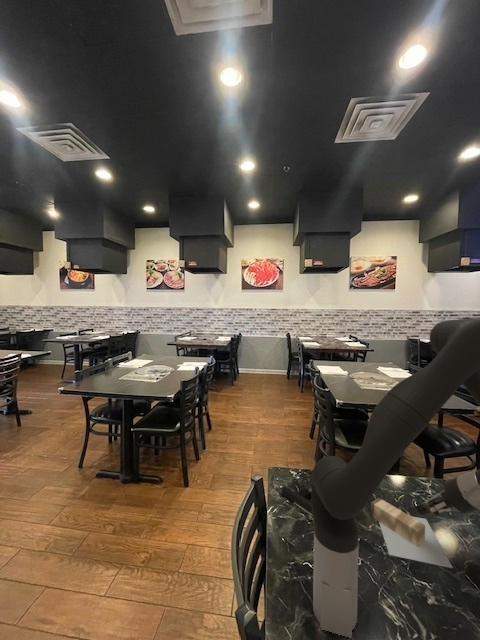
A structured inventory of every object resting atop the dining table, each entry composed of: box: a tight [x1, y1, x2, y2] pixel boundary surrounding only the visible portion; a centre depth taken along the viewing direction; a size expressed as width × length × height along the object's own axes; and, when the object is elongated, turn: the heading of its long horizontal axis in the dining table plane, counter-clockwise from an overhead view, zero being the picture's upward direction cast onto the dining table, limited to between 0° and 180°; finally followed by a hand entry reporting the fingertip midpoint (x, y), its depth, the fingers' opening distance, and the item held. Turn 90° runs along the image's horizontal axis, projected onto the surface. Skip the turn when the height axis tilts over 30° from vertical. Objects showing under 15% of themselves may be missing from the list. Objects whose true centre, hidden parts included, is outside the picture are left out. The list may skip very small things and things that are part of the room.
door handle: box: [281, 486, 313, 517], centre depth 98 cm, size 3×20×16 cm
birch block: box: [370, 497, 425, 547], centre depth 86 cm, size 4×4×14 cm
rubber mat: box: [378, 516, 454, 569], centre depth 83 cm, size 18×15×1 cm
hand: (418, 510), depth 80 cm, fingers closed
